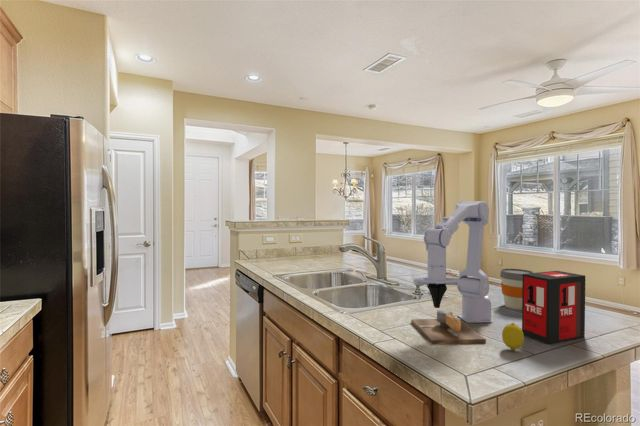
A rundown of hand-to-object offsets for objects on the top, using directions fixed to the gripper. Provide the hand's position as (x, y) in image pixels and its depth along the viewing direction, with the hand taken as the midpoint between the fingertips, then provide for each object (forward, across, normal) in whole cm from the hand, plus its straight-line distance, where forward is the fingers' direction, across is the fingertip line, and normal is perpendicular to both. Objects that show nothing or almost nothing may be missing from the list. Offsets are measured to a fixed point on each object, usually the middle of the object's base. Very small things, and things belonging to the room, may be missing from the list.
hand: (436, 307), depth 109 cm
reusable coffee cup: (+10, +43, +35) cm, 56 cm away
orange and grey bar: (+6, +5, +2) cm, 8 cm away
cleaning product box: (+10, +38, +2) cm, 39 cm away
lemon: (+10, +19, -10) cm, 24 cm away
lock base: (+9, +4, +3) cm, 11 cm away
